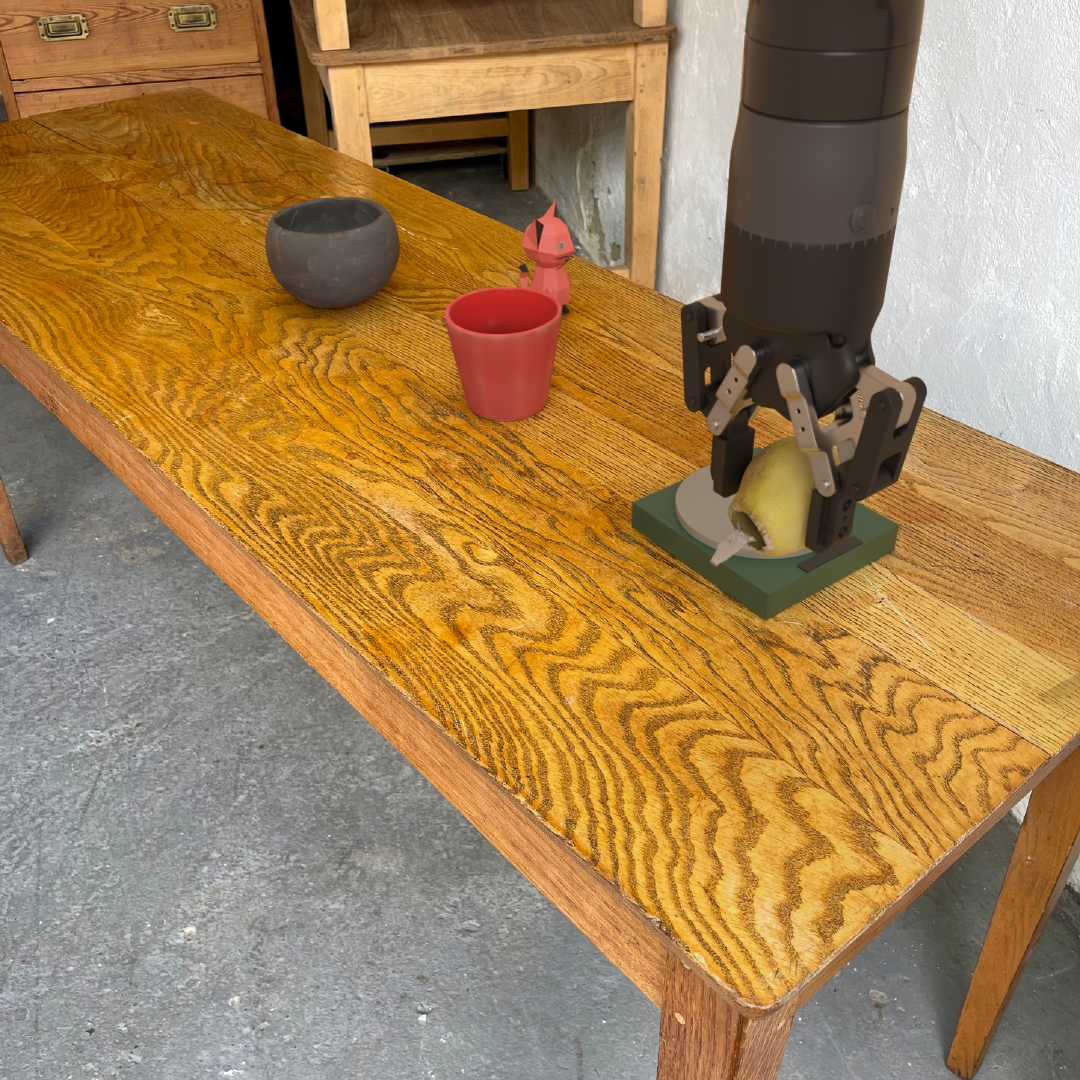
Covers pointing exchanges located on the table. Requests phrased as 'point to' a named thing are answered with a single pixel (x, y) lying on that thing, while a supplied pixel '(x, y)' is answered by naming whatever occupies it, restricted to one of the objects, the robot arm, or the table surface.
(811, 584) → the scale
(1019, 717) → the table surface
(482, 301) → the flower pot
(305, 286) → the bowl
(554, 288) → the cat figurine
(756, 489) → the fruit
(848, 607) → the table surface
